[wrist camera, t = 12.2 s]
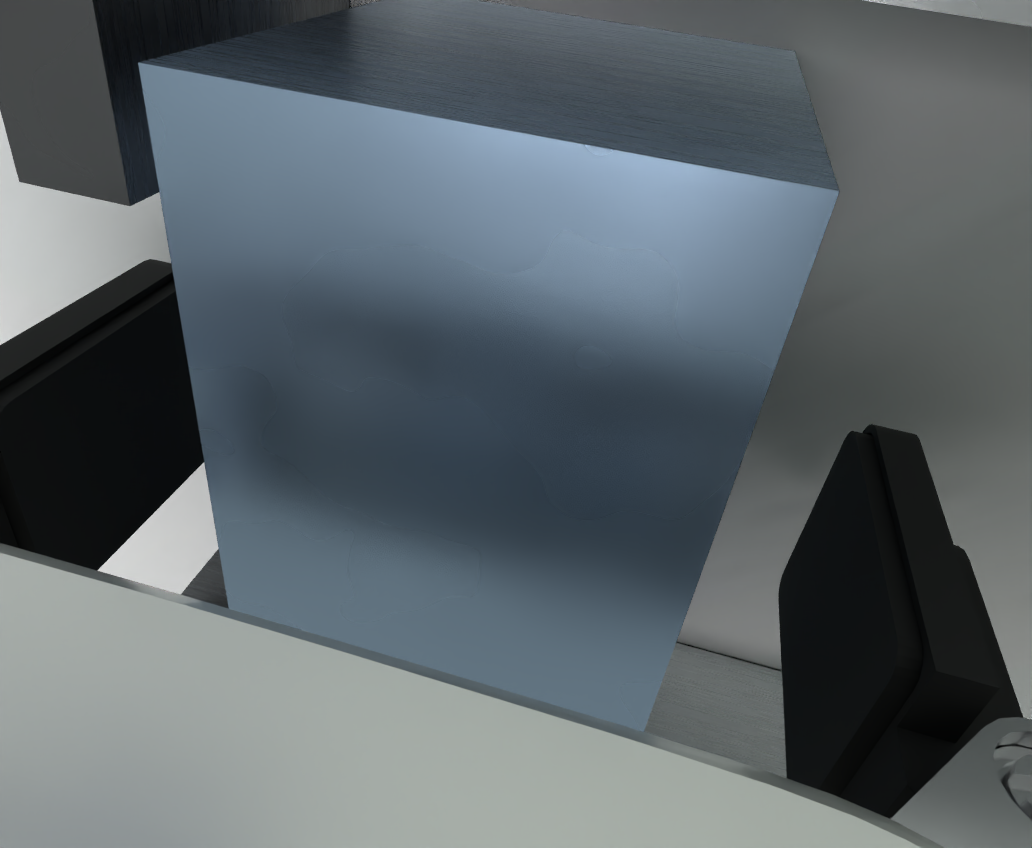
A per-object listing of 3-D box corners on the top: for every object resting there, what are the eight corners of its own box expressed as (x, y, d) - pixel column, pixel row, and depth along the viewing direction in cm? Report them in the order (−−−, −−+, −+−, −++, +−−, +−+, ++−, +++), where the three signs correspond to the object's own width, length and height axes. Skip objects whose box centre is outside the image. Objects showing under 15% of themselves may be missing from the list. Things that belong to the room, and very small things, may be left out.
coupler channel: (1697, -51, 7) (2869, 0, 3) (982, 768, 16) (1064, 1065, 12) (255, -238, 9) (-124, -351, 5) (306, 577, 18) (176, 774, 14)
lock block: (794, 49, 10) (842, 201, 5) (635, 586, 15) (582, 907, 11) (421, -11, 10) (120, 66, 5) (403, 525, 16) (250, 799, 11)
